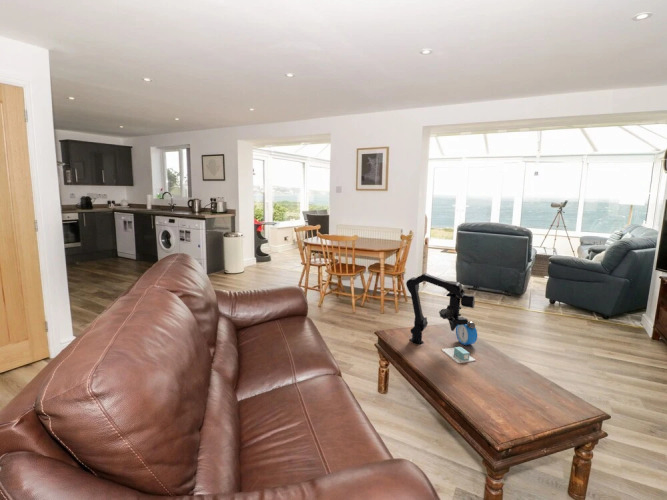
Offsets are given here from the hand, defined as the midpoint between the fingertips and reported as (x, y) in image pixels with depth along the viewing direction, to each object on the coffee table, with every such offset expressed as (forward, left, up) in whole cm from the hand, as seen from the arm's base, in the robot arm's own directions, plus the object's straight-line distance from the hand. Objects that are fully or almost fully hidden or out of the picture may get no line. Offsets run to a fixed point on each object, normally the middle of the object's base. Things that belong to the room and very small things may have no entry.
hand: (452, 330), depth 206 cm
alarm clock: (-6, +14, -12) cm, 19 cm away
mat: (+7, 0, -12) cm, 14 cm away
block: (+6, 0, -9) cm, 11 cm away
